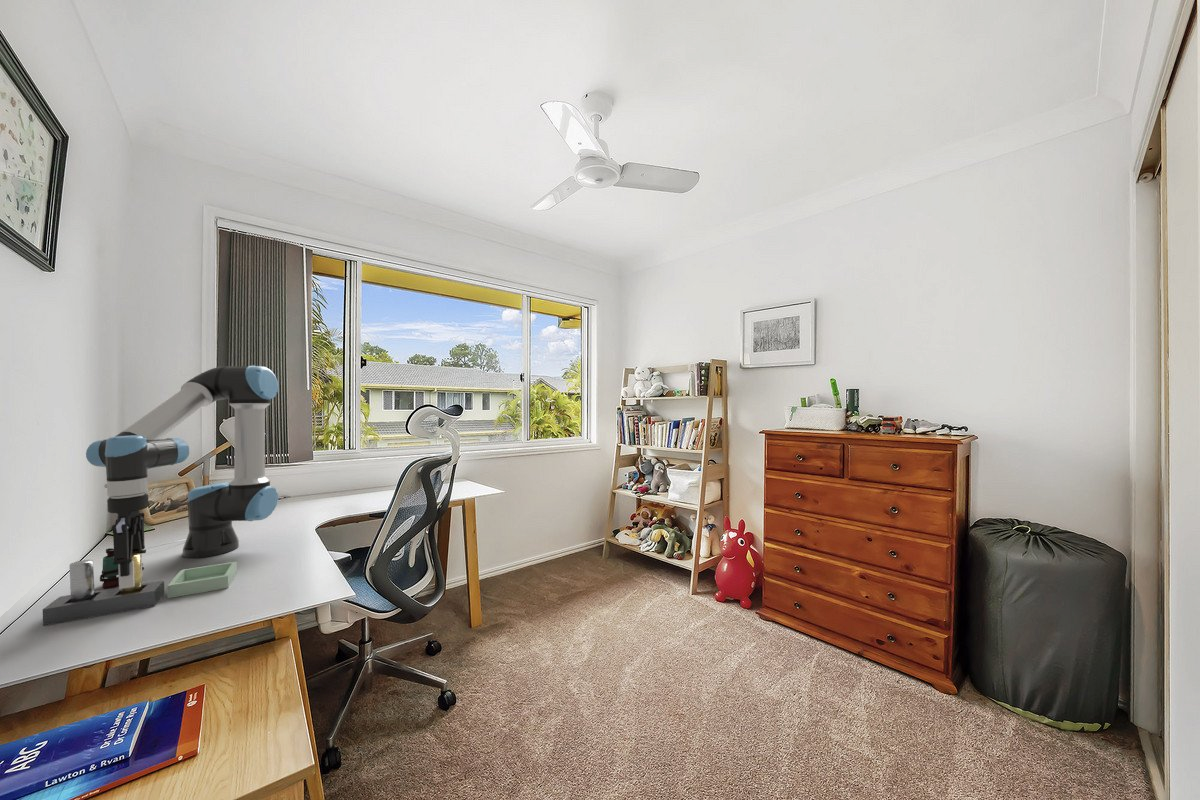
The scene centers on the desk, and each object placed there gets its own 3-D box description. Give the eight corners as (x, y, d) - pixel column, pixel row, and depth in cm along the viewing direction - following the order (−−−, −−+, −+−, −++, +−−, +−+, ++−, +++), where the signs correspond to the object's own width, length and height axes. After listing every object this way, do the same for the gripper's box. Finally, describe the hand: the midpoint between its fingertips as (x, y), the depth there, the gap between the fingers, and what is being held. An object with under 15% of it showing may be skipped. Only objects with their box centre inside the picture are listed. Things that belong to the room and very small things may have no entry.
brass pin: (124, 603, 124) (122, 555, 123) (144, 600, 125) (143, 552, 125) (118, 610, 120) (116, 559, 120) (139, 606, 122) (137, 556, 122)
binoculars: (98, 559, 129) (100, 547, 136) (99, 596, 130) (101, 582, 137) (143, 551, 135) (143, 540, 143) (144, 586, 136) (144, 573, 144)
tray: (181, 581, 138) (181, 569, 138) (236, 572, 144) (236, 561, 144) (167, 598, 127) (167, 585, 127) (228, 587, 133) (228, 575, 133)
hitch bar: (60, 612, 119) (59, 596, 119) (164, 594, 129) (164, 580, 129) (43, 625, 112) (42, 609, 112) (154, 606, 122) (154, 590, 122)
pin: (76, 612, 119) (74, 561, 119) (98, 608, 121) (96, 558, 121) (68, 618, 116) (66, 566, 115) (90, 614, 118) (88, 563, 117)
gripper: (122, 490, 128) (125, 574, 129) (92, 504, 112) (95, 600, 113) (158, 487, 132) (161, 569, 132) (134, 500, 116) (137, 593, 117)
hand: (131, 583), depth 123 cm, fingers open, 5 cm apart
